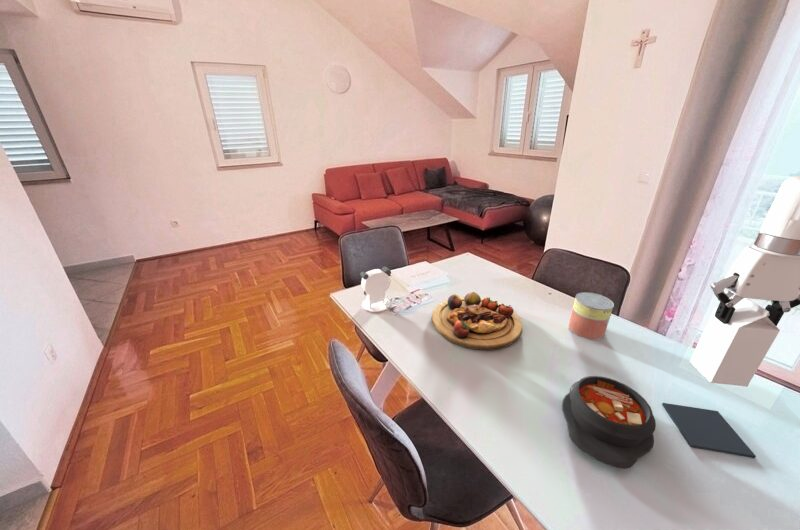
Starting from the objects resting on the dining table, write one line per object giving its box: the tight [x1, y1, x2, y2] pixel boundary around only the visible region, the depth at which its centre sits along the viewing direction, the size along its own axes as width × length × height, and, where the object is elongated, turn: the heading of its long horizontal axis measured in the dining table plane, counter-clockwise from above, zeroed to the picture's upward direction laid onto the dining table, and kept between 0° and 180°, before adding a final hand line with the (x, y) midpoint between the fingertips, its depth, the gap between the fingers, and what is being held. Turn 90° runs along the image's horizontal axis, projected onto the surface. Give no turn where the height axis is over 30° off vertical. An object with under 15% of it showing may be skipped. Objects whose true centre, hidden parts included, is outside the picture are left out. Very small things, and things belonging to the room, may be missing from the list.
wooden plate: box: [431, 291, 523, 350], centre depth 112 cm, size 32×32×8 cm
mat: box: [662, 402, 757, 459], centre depth 74 cm, size 12×12×1 cm
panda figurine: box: [359, 266, 392, 313], centre depth 123 cm, size 12×11×15 cm
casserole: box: [561, 375, 657, 470], centre depth 73 cm, size 25×19×8 cm
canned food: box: [567, 291, 615, 341], centre depth 107 cm, size 11×11×12 cm
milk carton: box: [689, 298, 780, 387], centre depth 68 cm, size 7×7×19 cm
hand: (743, 322), depth 66 cm, fingers closed on milk carton, 7 cm apart
